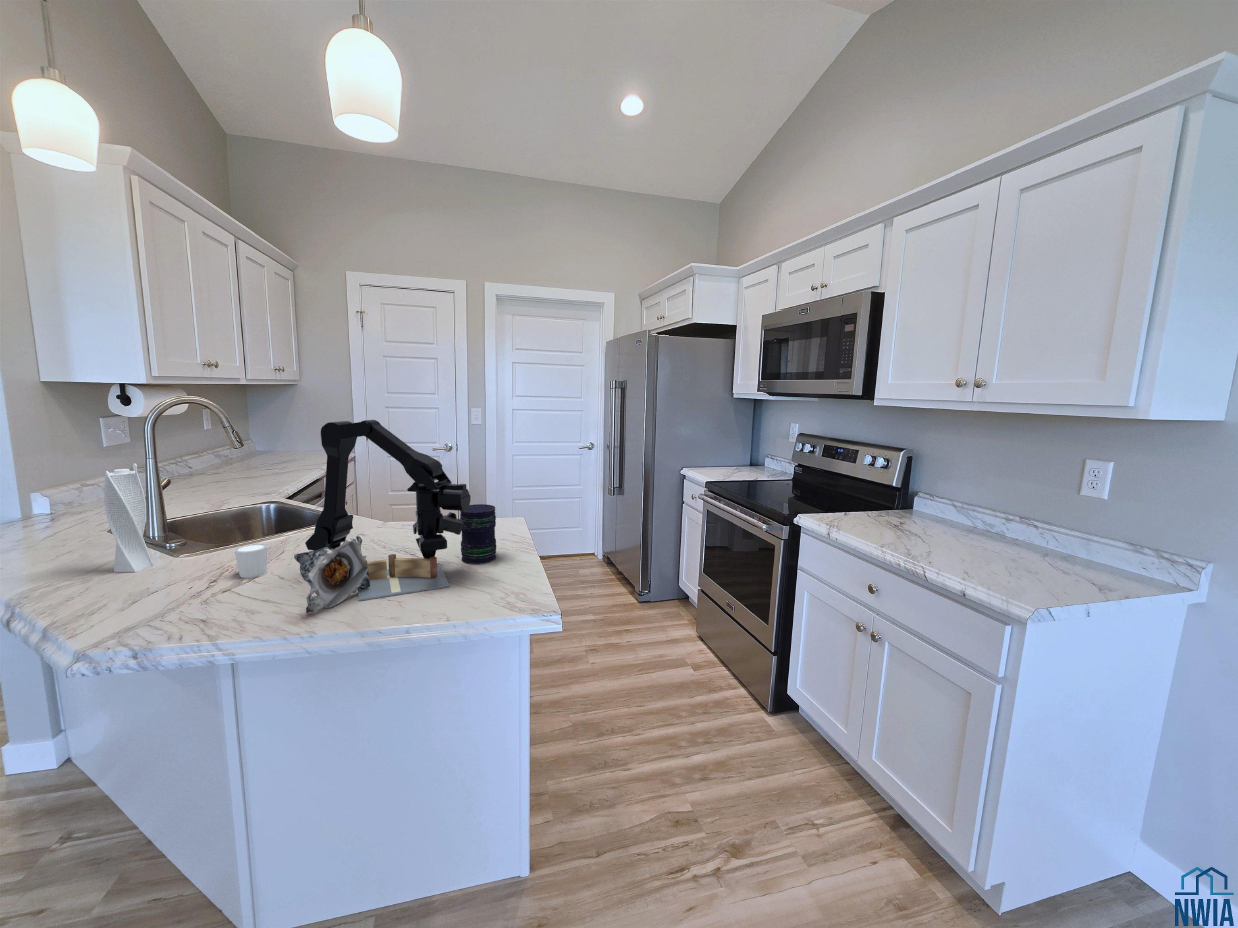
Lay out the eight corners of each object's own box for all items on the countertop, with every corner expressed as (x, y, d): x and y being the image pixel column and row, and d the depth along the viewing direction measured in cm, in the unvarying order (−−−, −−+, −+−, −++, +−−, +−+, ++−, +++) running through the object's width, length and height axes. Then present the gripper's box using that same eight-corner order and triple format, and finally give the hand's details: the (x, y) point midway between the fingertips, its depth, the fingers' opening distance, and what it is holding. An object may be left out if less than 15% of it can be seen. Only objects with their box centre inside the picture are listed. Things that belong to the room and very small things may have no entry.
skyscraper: (162, 563, 136) (150, 461, 132) (137, 573, 128) (123, 465, 124) (132, 563, 135) (119, 461, 131) (105, 573, 128) (90, 465, 124)
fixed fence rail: (360, 582, 125) (359, 563, 124) (360, 579, 126) (359, 560, 125) (387, 578, 127) (386, 559, 127) (387, 576, 129) (386, 557, 128)
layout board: (358, 601, 115) (358, 599, 115) (358, 574, 130) (357, 573, 130) (449, 586, 124) (449, 585, 124) (438, 563, 140) (438, 562, 140)
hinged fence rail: (387, 576, 128) (386, 556, 127) (391, 574, 130) (390, 553, 129) (435, 577, 128) (435, 557, 127) (438, 575, 129) (437, 555, 129)
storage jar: (475, 567, 138) (473, 514, 136) (453, 559, 144) (452, 508, 141) (503, 557, 146) (503, 507, 143) (482, 550, 151) (481, 502, 149)
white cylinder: (275, 571, 132) (273, 546, 131) (247, 580, 125) (244, 553, 124) (259, 567, 134) (257, 542, 133) (230, 575, 128) (228, 549, 127)
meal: (357, 585, 122) (351, 534, 120) (371, 588, 121) (365, 535, 119) (300, 612, 108) (293, 555, 106) (315, 615, 107) (308, 557, 105)
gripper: (467, 514, 124) (468, 574, 127) (454, 498, 141) (455, 551, 143) (419, 518, 119) (421, 580, 122) (411, 501, 136) (413, 557, 138)
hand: (430, 566), depth 131 cm, fingers closed
